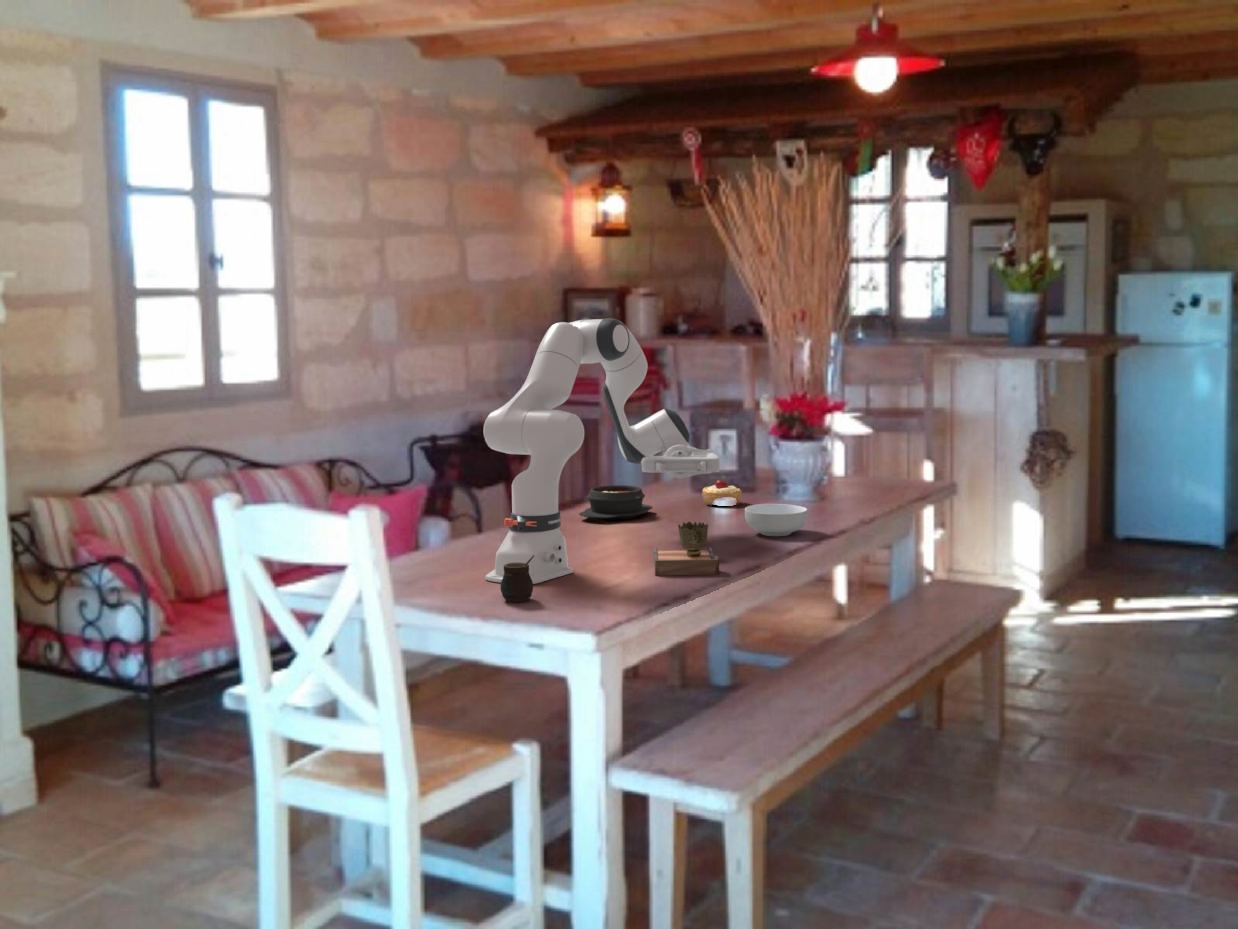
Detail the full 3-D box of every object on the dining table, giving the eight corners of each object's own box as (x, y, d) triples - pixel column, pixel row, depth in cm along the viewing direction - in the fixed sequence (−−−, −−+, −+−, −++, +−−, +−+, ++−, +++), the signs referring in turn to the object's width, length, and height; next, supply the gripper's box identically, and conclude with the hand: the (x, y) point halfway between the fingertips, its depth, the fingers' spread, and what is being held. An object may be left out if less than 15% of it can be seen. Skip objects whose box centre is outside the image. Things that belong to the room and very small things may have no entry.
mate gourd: (498, 598, 311) (497, 553, 310) (532, 595, 313) (531, 551, 312) (503, 605, 304) (501, 559, 303) (537, 602, 306) (536, 557, 305)
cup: (697, 560, 347) (697, 528, 346) (673, 556, 352) (672, 525, 350) (714, 554, 353) (713, 523, 352) (690, 551, 358) (689, 520, 356)
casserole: (613, 526, 396) (613, 497, 395) (564, 520, 408) (563, 491, 407) (667, 514, 416) (667, 485, 415) (618, 508, 427) (618, 480, 426)
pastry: (697, 507, 427) (696, 478, 425) (708, 501, 438) (708, 472, 436) (735, 509, 422) (735, 479, 421) (746, 502, 433) (746, 474, 432)
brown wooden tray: (719, 574, 331) (718, 560, 331) (655, 575, 331) (655, 560, 331) (711, 548, 362) (711, 535, 362) (653, 549, 362) (653, 536, 362)
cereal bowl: (777, 542, 369) (777, 515, 369) (732, 534, 382) (731, 508, 381) (820, 533, 381) (820, 507, 380) (774, 526, 393) (774, 501, 392)
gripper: (640, 449, 373) (640, 455, 359) (717, 449, 373) (720, 455, 359) (640, 473, 374) (640, 480, 360) (717, 472, 373) (720, 479, 360)
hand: (681, 467), depth 359 cm, fingers open, 8 cm apart
